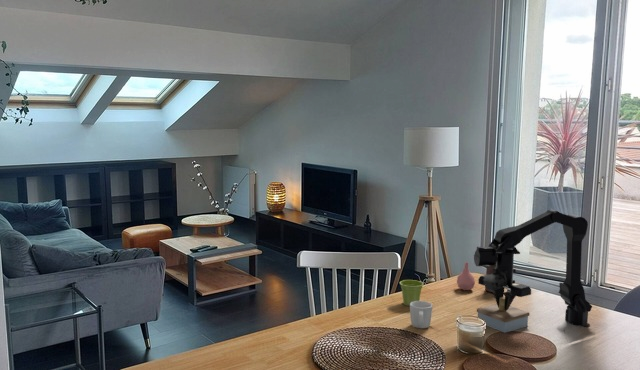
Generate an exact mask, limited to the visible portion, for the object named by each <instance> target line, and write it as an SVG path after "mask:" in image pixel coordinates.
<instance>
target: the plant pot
mask: <svg viewBox="0 0 640 370" xmlns="http://www.w3.org/2000/svg"><path fill="white" fill-rule="evenodd" d="M399 285H400V288H401V294H402V302H403V304H404V305H405V306H407V307H408V306H410V303H411V302H414V301H421V300H420V298H421V294H422V289H423V286H424V282H423V281H419V280H415V279H414V280H413V279H403V280H401V281H399Z"/></svg>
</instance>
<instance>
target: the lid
mask: <svg viewBox="0 0 640 370" xmlns="http://www.w3.org/2000/svg"><path fill="white" fill-rule="evenodd" d="M476 312H477V313H478V312H479V313H482V314H484V315H487V316H489V317H492V318H495V319H497V320H500V321H503V322H505V323H506V322H509V321H513V320H516V319H520V318H523V317H527V316H528V317H530V312H529V311H526V310H523V309H520V308H517V307H515V306H511V305H510V307H509V308H508V310H505V296H503V297H500V298H499V308H498V305H497V303H492V304H489V305H485V306H482V307H481V306H480V307H477V308H476Z"/></svg>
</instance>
